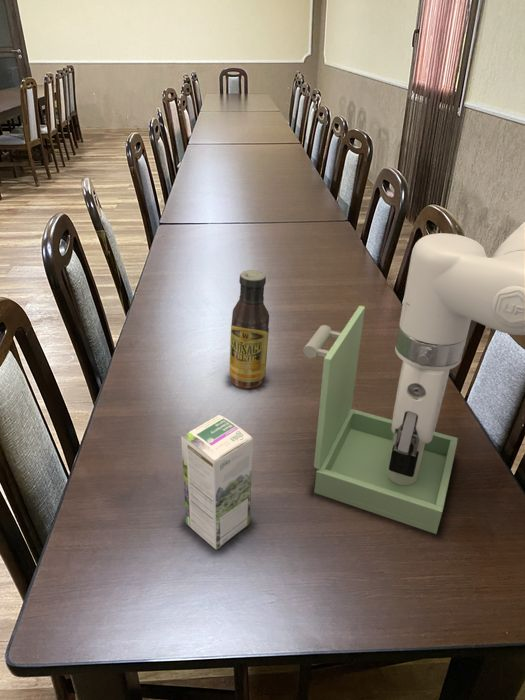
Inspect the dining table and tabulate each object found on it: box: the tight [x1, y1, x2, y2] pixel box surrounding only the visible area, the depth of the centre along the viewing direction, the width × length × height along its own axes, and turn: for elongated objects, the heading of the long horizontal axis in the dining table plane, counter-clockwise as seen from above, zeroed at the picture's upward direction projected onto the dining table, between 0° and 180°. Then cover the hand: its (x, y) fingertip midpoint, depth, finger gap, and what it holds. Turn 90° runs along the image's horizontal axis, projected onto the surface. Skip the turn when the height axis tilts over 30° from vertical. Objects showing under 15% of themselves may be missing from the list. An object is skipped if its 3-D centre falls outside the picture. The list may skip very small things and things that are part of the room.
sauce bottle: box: [228, 269, 270, 389], centre depth 88 cm, size 6×6×20 cm
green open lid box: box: [313, 408, 459, 535], centre depth 73 cm, size 16×15×4 cm
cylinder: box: [387, 426, 425, 486], centre depth 71 cm, size 4×4×8 cm
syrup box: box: [180, 414, 254, 551], centre depth 62 cm, size 6×6×14 cm
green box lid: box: [302, 305, 366, 470], centre depth 71 cm, size 17×15×5 cm
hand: (404, 460), depth 71 cm, fingers closed on cylinder, 4 cm apart
